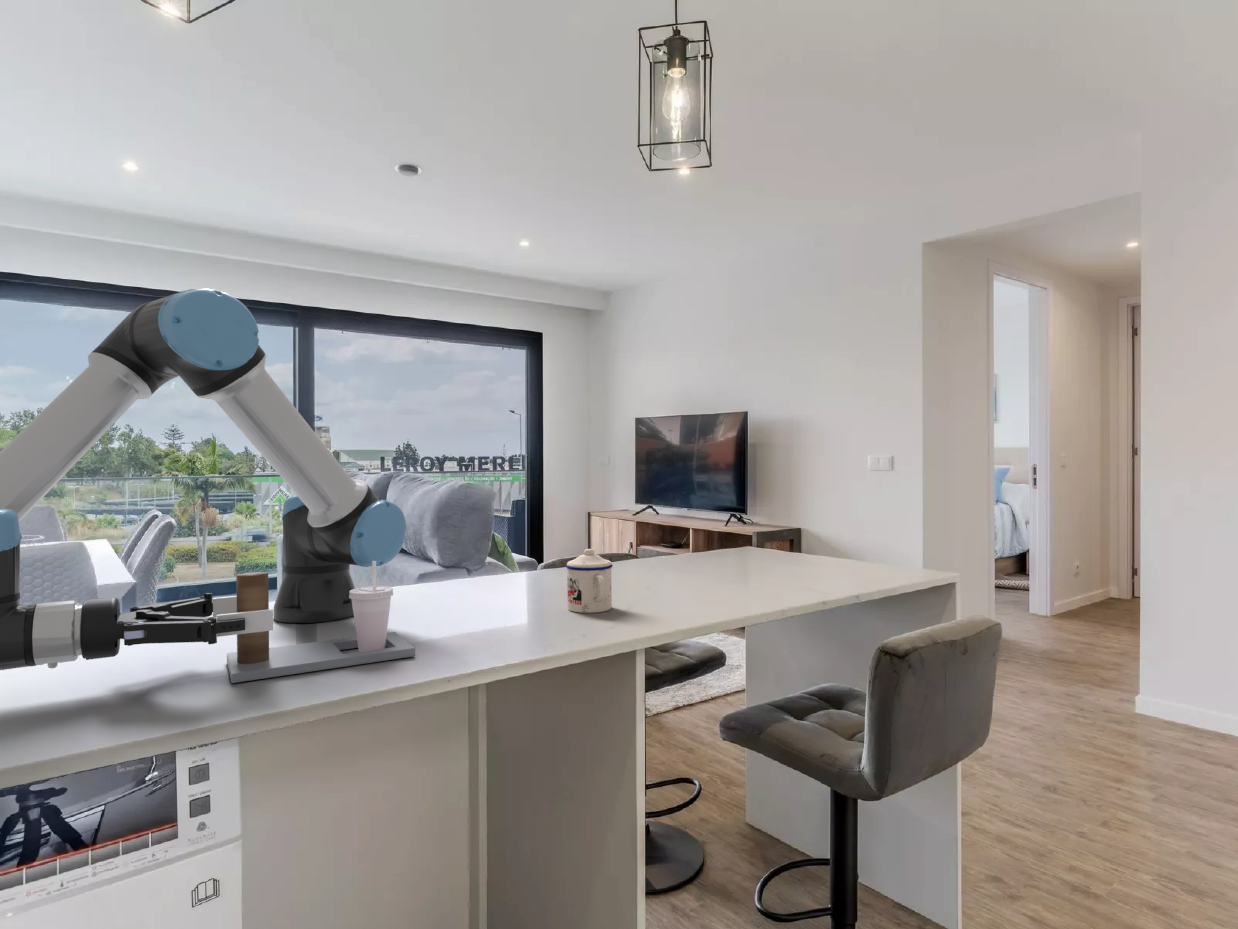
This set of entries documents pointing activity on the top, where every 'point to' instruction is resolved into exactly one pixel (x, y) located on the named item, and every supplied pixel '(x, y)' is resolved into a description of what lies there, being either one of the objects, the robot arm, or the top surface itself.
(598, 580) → the teacup with lid
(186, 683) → the top surface
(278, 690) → the top surface
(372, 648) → the smoothie
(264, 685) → the top surface
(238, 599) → the cup holder tray
